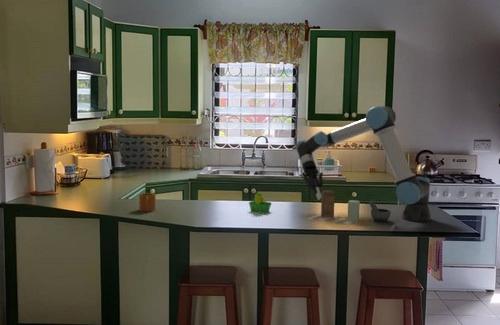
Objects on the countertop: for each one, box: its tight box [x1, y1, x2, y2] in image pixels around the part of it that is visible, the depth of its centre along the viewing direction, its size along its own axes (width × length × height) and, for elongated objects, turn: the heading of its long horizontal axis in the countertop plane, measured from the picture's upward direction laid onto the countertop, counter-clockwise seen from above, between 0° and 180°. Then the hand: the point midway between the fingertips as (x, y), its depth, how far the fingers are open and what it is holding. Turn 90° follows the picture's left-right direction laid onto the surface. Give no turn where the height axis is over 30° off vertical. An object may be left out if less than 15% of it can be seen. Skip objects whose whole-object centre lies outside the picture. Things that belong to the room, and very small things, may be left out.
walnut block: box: [320, 189, 336, 218], centre depth 281 cm, size 5×5×14 cm
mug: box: [138, 192, 156, 213], centre depth 296 cm, size 9×12×9 cm
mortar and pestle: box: [368, 199, 392, 223], centre depth 276 cm, size 11×9×12 cm
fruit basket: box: [248, 192, 272, 214], centre depth 300 cm, size 11×9×11 cm
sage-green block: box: [346, 199, 361, 223], centre depth 275 cm, size 5×5×10 cm
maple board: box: [306, 213, 361, 226], centre depth 277 cm, size 24×14×2 cm, turn 58°
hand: (319, 198), depth 290 cm, fingers closed
